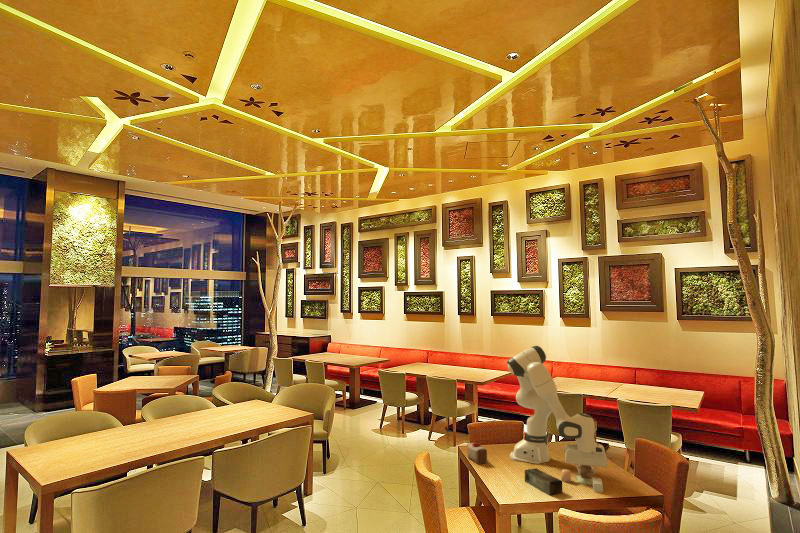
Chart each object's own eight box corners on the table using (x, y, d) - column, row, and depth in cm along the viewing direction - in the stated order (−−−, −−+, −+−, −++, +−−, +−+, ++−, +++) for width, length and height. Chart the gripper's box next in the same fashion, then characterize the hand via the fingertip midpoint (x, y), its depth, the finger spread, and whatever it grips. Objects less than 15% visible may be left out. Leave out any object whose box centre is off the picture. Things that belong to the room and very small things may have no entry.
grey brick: (603, 493, 217) (602, 484, 217) (594, 492, 218) (593, 483, 218) (600, 486, 224) (600, 478, 225) (592, 485, 226) (591, 477, 226)
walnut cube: (581, 478, 230) (581, 468, 230) (580, 474, 234) (580, 464, 235) (592, 479, 228) (591, 469, 229) (590, 475, 233) (590, 465, 233)
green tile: (577, 483, 228) (577, 481, 228) (576, 476, 237) (576, 475, 237) (597, 485, 226) (597, 484, 226) (594, 478, 234) (594, 477, 234)
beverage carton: (536, 479, 233) (536, 466, 234) (563, 494, 215) (563, 479, 216) (524, 481, 230) (523, 468, 230) (550, 496, 212) (550, 482, 213)
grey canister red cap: (465, 457, 265) (465, 440, 266) (477, 455, 268) (477, 438, 269) (477, 465, 252) (477, 447, 253) (489, 463, 255) (489, 445, 256)
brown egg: (561, 482, 230) (561, 471, 230) (561, 478, 234) (561, 468, 234) (571, 483, 228) (570, 472, 229) (570, 479, 233) (570, 469, 233)
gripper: (564, 445, 232) (565, 473, 231) (607, 449, 227) (608, 478, 226) (563, 442, 238) (564, 469, 237) (605, 446, 233) (606, 473, 232)
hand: (586, 473), depth 231 cm, fingers closed on walnut cube, 5 cm apart
